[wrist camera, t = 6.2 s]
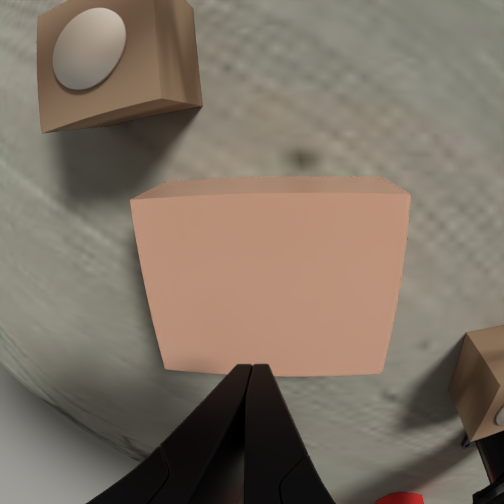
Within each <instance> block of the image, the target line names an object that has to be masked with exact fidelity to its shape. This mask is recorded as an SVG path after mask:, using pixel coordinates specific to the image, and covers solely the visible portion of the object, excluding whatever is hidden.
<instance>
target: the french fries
mask: <svg viewBox="0 0 504 504" xmlns="http://www.w3.org/2000/svg"><path fill="white" fill-rule="evenodd" d="M377 504H424V502H423V498H422V495H419V494H413V493H406V492H400V493H395V494H389V495H388V496H386V497H384V498H382V499H380V500H378V501H377Z"/></svg>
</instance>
